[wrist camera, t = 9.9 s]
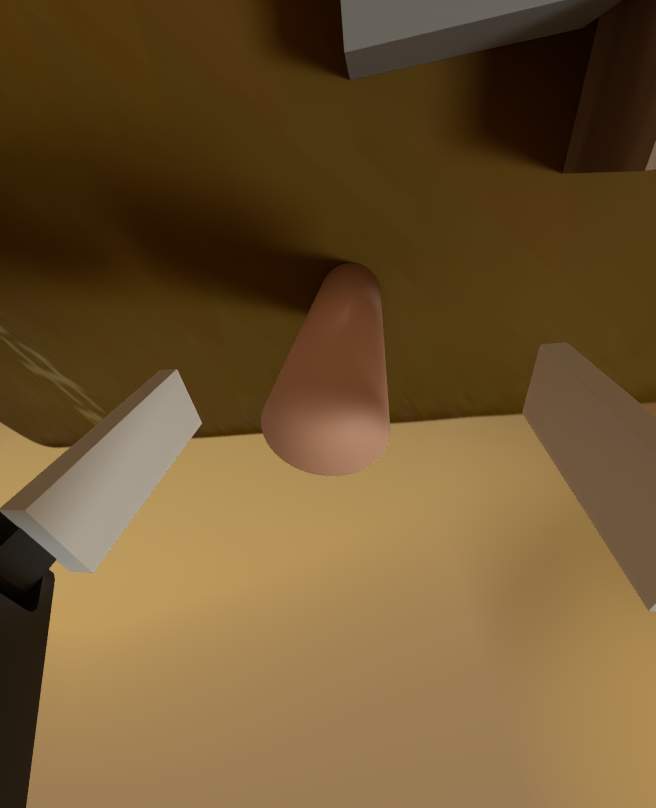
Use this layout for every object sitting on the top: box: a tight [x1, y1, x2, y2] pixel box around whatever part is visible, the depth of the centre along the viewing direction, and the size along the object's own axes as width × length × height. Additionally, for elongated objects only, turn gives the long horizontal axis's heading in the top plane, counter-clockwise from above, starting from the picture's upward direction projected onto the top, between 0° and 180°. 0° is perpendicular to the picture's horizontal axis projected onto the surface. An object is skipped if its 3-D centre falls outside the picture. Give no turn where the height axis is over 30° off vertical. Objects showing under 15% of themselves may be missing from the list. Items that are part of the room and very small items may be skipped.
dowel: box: [261, 263, 390, 476], centre depth 15 cm, size 4×4×14 cm
